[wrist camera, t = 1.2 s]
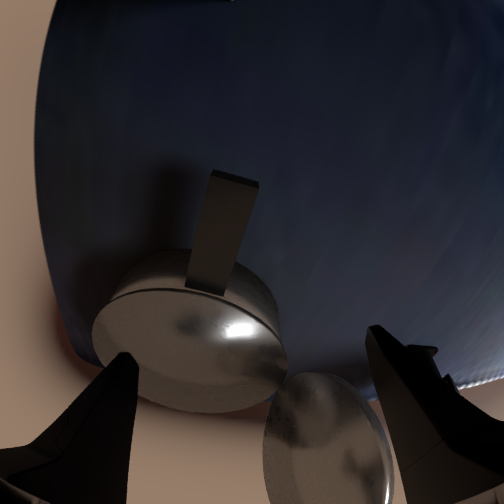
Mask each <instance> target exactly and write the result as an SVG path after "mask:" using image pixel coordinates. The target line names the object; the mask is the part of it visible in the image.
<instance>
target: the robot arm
mask: <svg viewBox="0 0 504 504" xmlns="http://www.w3.org/2000/svg"><path fill="white" fill-rule="evenodd" d="M365 346H366V351H367V355H368V359H369V364H370V369H371V373H372V378H373V382H374V386H375V389H376V392H377V395H378V398H379V401H380V404H381V407H382V410H383V414H384V417H385V420H386V423H387V427H388V430H389V433H390V437H391V440H392V444H393V447H394V451H395V455H396V459H397V462H398V466H399V470H400V475H401V479H402V483H403V487H404V491H405V496H406V500H407V504H504V421H500V420H497V419H494V418H492V417H491V416H489V415H488V414H486V413H485V412H483V411H482V410H481V409H479V408H478V407H476V406H475V405H473V404H472V403H471V402H469V401H468V400H467V399H465V398H464V397H463V396H461V395H460V393H459V391H458V389H457V387H456V385H455V383H454V381H453V379H452V378H451V376H450V375H449V373H448V374H447V375H445V377H443V378H442V377H441V375H440V373H439V370H438V368H437V366H436V364H435V362H434V360H433V358H432V357H433V356H434V355H435V354H436V353H437V352H438V348H437V347H426V346H416V345H411V346H409V347H408V348H406V347H405V346H404V345H402V344H401V343H400V342H399V341H398V340H397V339H396V338H394V337H393V336H392V335H391V334H390V333H389V332H387V331H386V330H385V329H384V328H383V327H381V326H380V325H373V326H369V327H368V329H367V335H366V340H365ZM138 383H139V365H138V363H137V361H136V360H135V359H134V357H133V356H132V354H131V353H130V352H120V353H119V354H118V355H117V356H116V357H115V358H114V359H113V360H112V361H111V362H110V363H109V364H108V365H107V366H106V367H105V368H104V369H103V370H102V371H101V373H100V374H99V375H98V376H97V377H96V378H95V379H94V380H93V381H92V382H91V383H90V384H89V385H88V387H87V388H85V389H84V391H83V392H82V393H81V394H80V395H79V396H78V397H77V398H76V399H75V400H74V401H73V402H72V404H71V405H70V406H69V407H68V408H67V409H66V410H65V411H64V412H63V413H62V414H61V415H60V416H59V417H58V418H57V419H56V421H54V422H53V423H52V424H51V425H50V426H49V427H48V428H47V429H46V430H45V431H44V432H43V433H42V434H41V435H40V436H38V437H37V438H36V439H35V440H34V441H33V442H31V443H30V444H28V445H25V446H20V447H14V448H5V449H0V504H126V499H127V498H126V497H127V482H128V471H129V460H130V451H131V442H132V435H133V427H134V420H135V414H136V407H137V399H138Z"/></svg>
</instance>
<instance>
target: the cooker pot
mask: <svg viewBox="0 0 504 504" xmlns="http://www.w3.org/2000/svg"><path fill="white" fill-rule="evenodd" d="M258 191H259V182H257V181H254V180H251V179H247V178H244V177H240V176H237V175H233V174H229V173H226V172H222V171H218V170H214V169H213V171H212V173H211V175H210V178H209V182H208V186H207V189H206V193H205V197H204V201H203V205H202V209H201V213H200V217H199V222H198V226H197V230H196V234H195V239H194V243H193V248H192V249H173V250H166V251H161V252H158V253H154V254H151V255H149V256H147V257H145V258H143V259H141V260H140V261H138V262H137V263H135V264H134V265H133V266H132V267H131V268H130V269H129V270H128V271H127V272H126V274H125V275H124V277H123V278H122V280H121V282H120V283H119V285H118V287H117V288H116V290H115V292H114V294H113V295H112V297H111V299H110V301H109V302H108V303H107V304H106V305H105V306H104V307H103V308H102V309H101V311H100V312H99V314H98V315H97V317H96V319H95V322H94V324H93V328H92V342H93V346H94V349H95V352H96V354H97V356H98V358H99V359H100V361H101V363H102V364H103V366H104V367H106V366H107V365H108V364H109V363H110V362H111V361H112V360H113V359H114V358H115V357H116V356H117V355H118V354H119V353H120V352H130V353H131V354H132V356H133V357H134V359H135V360H136V361H137V363H138V365H139V383H138V395H140V396H142V397H144V398H146V399H148V400H150V401H153V402H155V403H158V404H161V405H164V406H167V407H170V408H174V409H178V410H183V411H190V412H199V413H222V412H231V411H236V410H241V409H245V408H248V407H251V406H254V405H256V404H258V403H260V402H262V401H264V400H266V399H267V398H269V397H270V396H271V395H273V394H274V393H275V392H276V391H277V390H278V389H279V388H280V386H281V385H282V383H283V382H284V380H285V377H286V374H287V367H288V365H287V357H286V352H285V349H284V346H283V344H282V341H281V331H280V322H279V313H278V307H277V304H276V301H275V299H274V297H273V295H272V293H271V291H270V290H269V289H268V287H267V286H266V285H265V283H264V282H263V281H262V280H261V279H260V278H259V277H258V276H257V275H255V274H254V273H253V272H252V271H250V270H249V269H248V268H246V267H244V266H243V265H241V264H239V263H238V262H236V261H235V260H236V257H237V254H238V251H239V248H240V245H241V242H242V239H243V236H244V233H245V230H246V227H247V224H248V221H249V218H250V215H251V212H252V209H253V206H254V203H255V200H256V197H257V194H258Z"/></svg>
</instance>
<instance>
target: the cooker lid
mask: <svg viewBox="0 0 504 504" xmlns="http://www.w3.org/2000/svg"><path fill="white" fill-rule="evenodd" d="M263 471H264V478H265V484H266V490H267V493H268V497H269V501H270V503H271V504H392V500H393V494H394V468H393V460H392V455H391V451H390V447H389V443H388V440H387V438H386V435H385V432H384V429H383V427H382V425H381V423H380V421H379V419H378V418H377V416H376V414H375V412H374V411H373V409H372V408H371V406H370V405H369V403H368V402H367V400H366V399H365V398H364V397H363V396H362V395H361V393H360V392H359V391H358V390H357V389H355V388H354V387H353V386H352V385H351V384H350V383H348V382H347V381H345V380H344V379H342V378H341V377H339V376H336V375H334V374H331V373H326V372H304V373H300V374H297V375H295V376H293V377H291V378H290V379H288V380H287V381H286V382H285V383H284V384H283V385H282V386H281V387H280V389H279V390H278V392H277V393H276V395H275V397H274V399H273V401H272V404H271V406H270V409H269V412H268V416H267V419H266V424H265V430H264V437H263Z"/></svg>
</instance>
